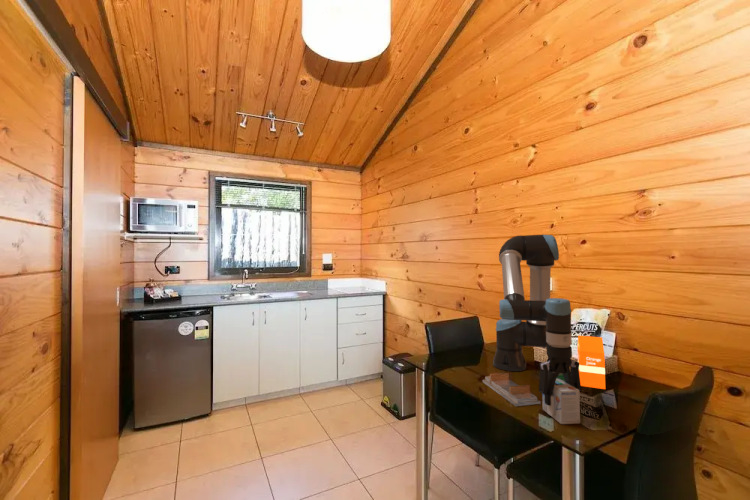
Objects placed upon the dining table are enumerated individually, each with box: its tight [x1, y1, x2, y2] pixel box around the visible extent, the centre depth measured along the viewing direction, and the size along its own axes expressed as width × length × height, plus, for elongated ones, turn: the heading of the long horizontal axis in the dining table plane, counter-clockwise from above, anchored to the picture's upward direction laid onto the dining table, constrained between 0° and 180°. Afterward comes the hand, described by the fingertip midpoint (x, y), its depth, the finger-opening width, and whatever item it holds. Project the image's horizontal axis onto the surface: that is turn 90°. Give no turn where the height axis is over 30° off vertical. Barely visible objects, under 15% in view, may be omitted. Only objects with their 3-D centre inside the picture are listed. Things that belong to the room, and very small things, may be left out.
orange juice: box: [577, 335, 606, 390], centre depth 140 cm, size 8×9×20 cm
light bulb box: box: [541, 379, 581, 425], centre depth 112 cm, size 11×7×11 cm, turn 5°
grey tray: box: [482, 371, 542, 407], centre depth 132 cm, size 10×24×5 cm, turn 11°
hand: (560, 413), depth 112 cm, fingers closed on light bulb box, 7 cm apart
